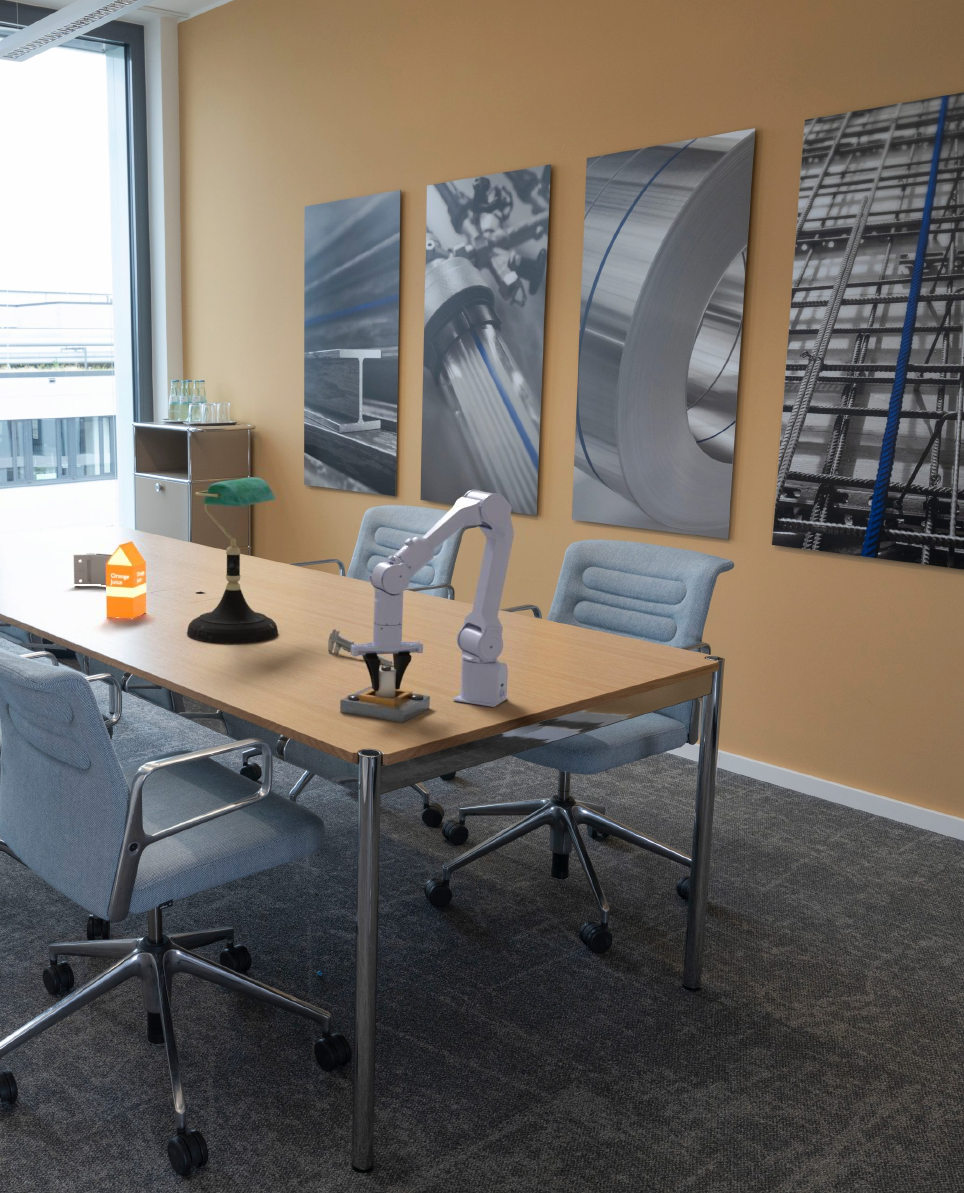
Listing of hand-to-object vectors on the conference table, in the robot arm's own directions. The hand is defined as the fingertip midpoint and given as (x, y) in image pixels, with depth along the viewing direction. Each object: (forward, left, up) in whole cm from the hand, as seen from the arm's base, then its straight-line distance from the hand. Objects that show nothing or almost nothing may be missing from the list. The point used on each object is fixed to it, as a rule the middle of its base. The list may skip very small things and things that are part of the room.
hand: (386, 688), depth 220 cm
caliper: (+25, -35, -5) cm, 43 cm away
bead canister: (0, 0, -2) cm, 2 cm away
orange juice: (+103, -44, -5) cm, 112 cm away
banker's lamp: (+66, -41, -5) cm, 78 cm away
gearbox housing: (0, 0, -4) cm, 4 cm away
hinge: (+139, -73, -5) cm, 157 cm away
